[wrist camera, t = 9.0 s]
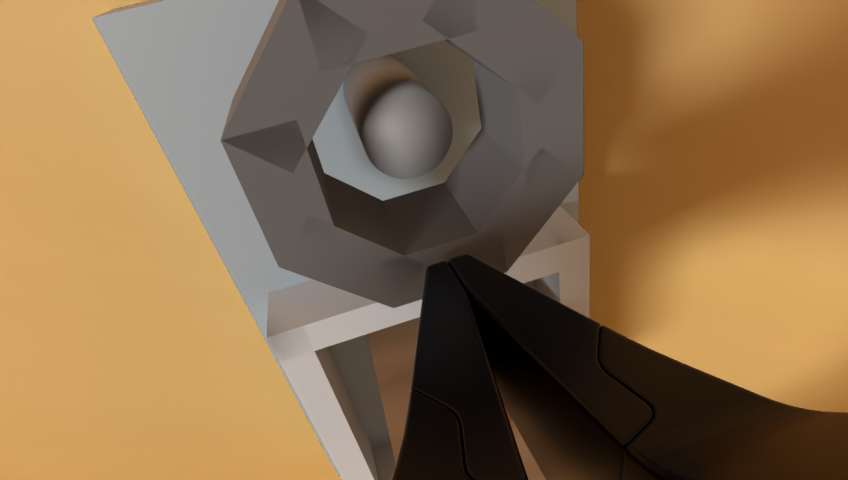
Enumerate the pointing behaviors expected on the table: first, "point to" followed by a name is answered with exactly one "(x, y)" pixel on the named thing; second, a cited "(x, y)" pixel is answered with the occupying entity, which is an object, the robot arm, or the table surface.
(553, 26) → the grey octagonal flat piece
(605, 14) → the table surface
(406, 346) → the brown wooden block
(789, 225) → the table surface
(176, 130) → the light gray tray
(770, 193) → the table surface
